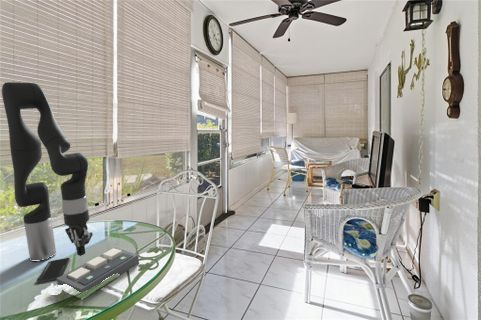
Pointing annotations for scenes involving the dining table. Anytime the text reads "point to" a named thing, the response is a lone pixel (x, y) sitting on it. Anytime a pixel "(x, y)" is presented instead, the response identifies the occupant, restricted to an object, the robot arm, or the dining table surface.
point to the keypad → (101, 271)
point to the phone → (53, 270)
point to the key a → (78, 274)
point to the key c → (112, 254)
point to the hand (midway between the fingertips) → (81, 254)
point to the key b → (96, 263)
